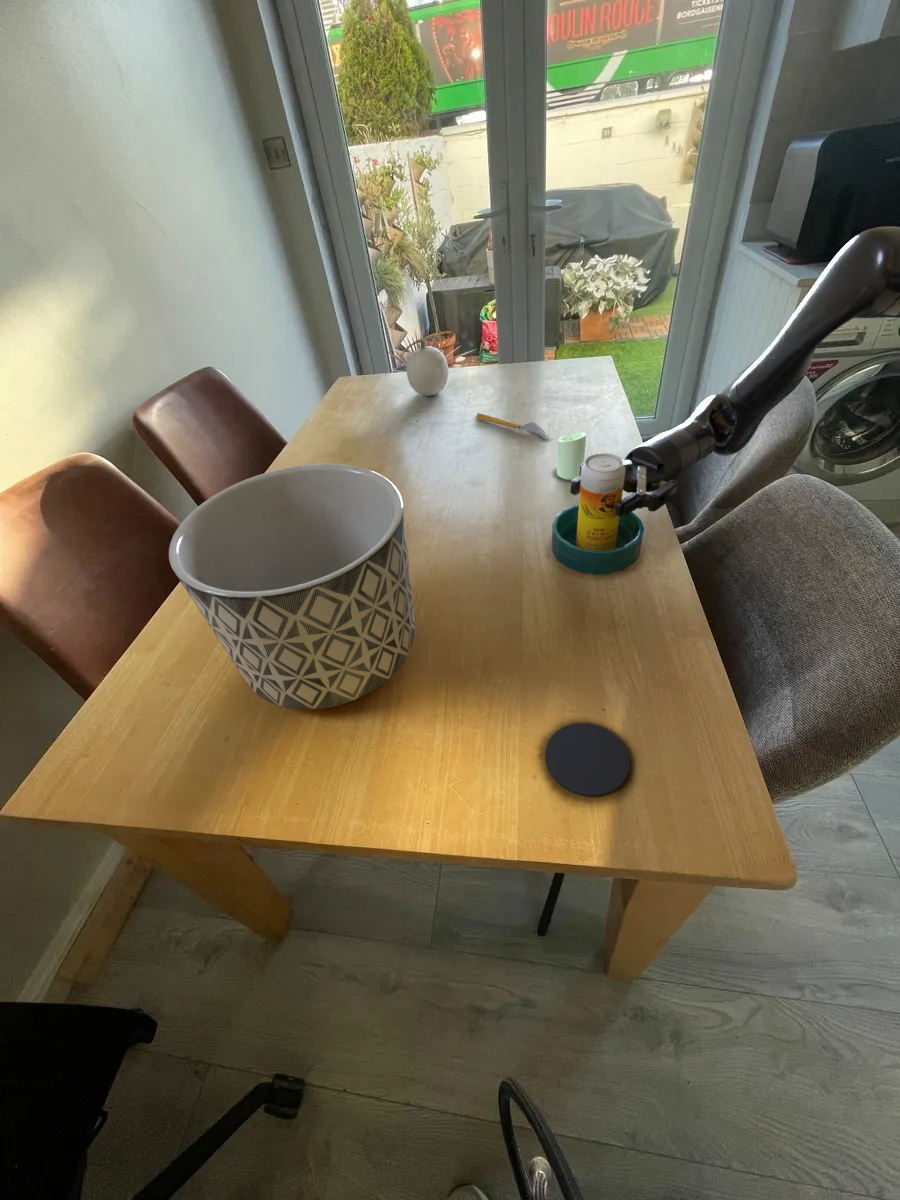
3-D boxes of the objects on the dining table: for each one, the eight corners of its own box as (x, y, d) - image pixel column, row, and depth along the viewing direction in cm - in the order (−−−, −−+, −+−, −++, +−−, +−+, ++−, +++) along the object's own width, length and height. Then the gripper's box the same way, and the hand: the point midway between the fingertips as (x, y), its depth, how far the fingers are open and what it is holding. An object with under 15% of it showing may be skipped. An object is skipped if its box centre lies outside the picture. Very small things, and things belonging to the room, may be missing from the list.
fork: (473, 413, 127) (544, 431, 116) (478, 409, 128) (549, 426, 117) (475, 422, 129) (546, 441, 118) (480, 418, 130) (551, 436, 119)
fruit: (406, 389, 147) (397, 329, 137) (449, 384, 147) (443, 323, 137) (406, 404, 139) (397, 342, 129) (451, 399, 139) (445, 336, 129)
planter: (402, 740, 65) (365, 601, 50) (203, 721, 69) (117, 590, 55) (442, 594, 83) (423, 462, 69) (283, 587, 88) (235, 463, 74)
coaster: (634, 736, 62) (635, 734, 62) (622, 808, 56) (623, 806, 56) (555, 716, 65) (555, 714, 65) (536, 782, 59) (536, 780, 59)
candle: (551, 473, 107) (552, 434, 102) (569, 464, 109) (571, 424, 104) (570, 482, 104) (573, 442, 98) (588, 472, 106) (592, 432, 101)
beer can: (586, 562, 85) (594, 476, 75) (569, 541, 90) (574, 457, 80) (622, 553, 86) (634, 467, 76) (603, 533, 90) (613, 448, 81)
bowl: (644, 531, 90) (648, 508, 87) (633, 583, 81) (637, 559, 78) (562, 520, 95) (563, 498, 92) (542, 568, 86) (543, 545, 83)
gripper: (628, 424, 90) (559, 460, 83) (708, 451, 81) (638, 494, 74) (623, 466, 95) (557, 503, 88) (697, 496, 86) (631, 540, 79)
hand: (594, 499), depth 81 cm, fingers open, 8 cm apart
